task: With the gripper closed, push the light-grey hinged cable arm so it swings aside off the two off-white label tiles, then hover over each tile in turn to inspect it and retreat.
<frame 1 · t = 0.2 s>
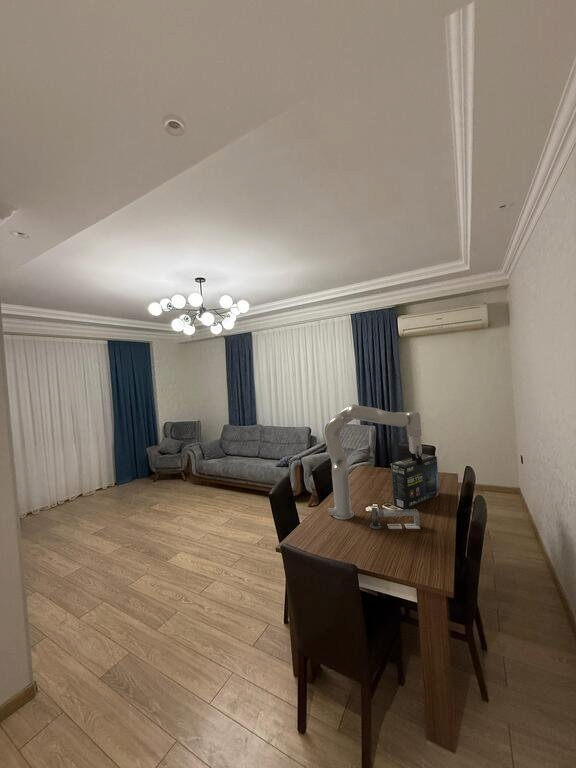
hand: (417, 462, 176), 30 cm above the table, fingers open, 9 cm apart
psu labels: (400, 526, 164), on the table
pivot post: (375, 526, 166), on the table
cable arm: (398, 517, 164), point 5 cm above the table, hinge at 0.0°
router box: (417, 500, 197), on the table
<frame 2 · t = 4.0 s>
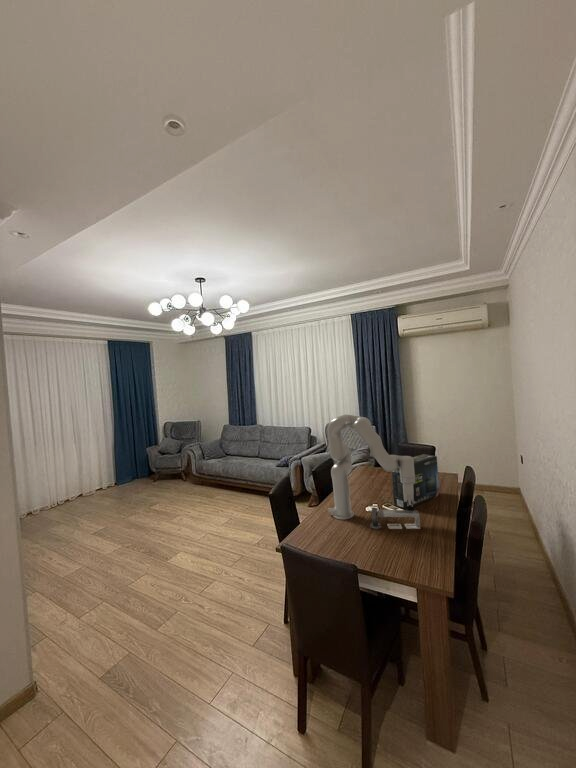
hand: (410, 513, 165), 6 cm above the table, fingers closed
cable arm: (398, 517, 163), point 5 cm above the table, hinge at 4.5°, touching gripper
everything else where it was.
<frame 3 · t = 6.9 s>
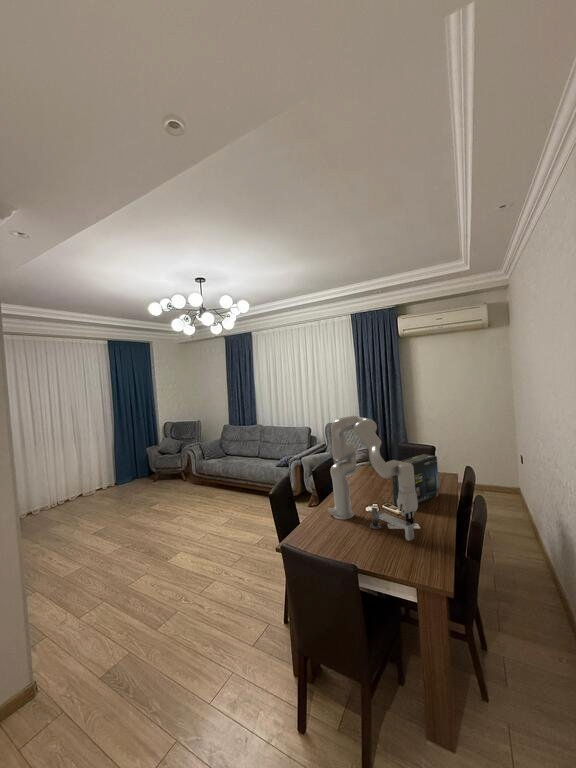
hand: (410, 525, 152), 6 cm above the table, fingers closed
cable arm: (393, 525, 155), point 5 cm above the table, hinge at 48.3°, touching gripper
everything else where it was.
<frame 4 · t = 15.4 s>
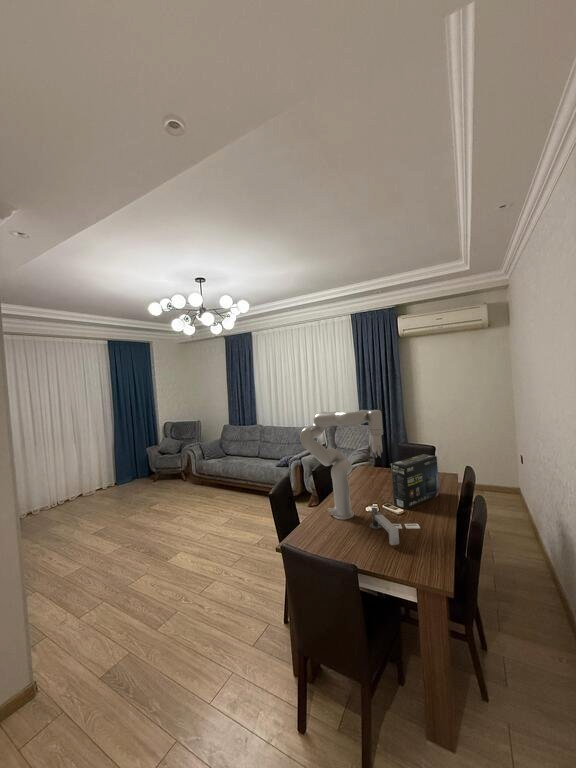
hand: (378, 464, 172), 32 cm above the table, fingers closed
cable arm: (385, 527, 153), point 5 cm above the table, hinge at 73.5°
everything else where it was.
at the end: cable arm at +74° (first picture: +0°) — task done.
